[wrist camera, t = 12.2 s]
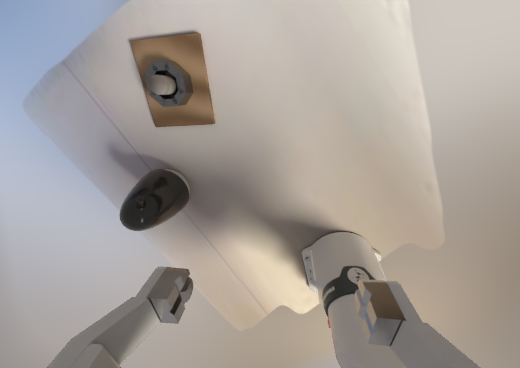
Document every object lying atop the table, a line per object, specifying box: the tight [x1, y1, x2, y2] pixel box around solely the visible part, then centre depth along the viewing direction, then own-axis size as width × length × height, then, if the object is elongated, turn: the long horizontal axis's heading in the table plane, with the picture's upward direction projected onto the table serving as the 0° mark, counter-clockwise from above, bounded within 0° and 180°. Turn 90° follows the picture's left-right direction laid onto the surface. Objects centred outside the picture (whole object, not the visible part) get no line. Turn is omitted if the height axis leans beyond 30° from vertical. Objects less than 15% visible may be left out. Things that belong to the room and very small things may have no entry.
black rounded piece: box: [120, 169, 190, 231], centre depth 38 cm, size 10×10×15 cm
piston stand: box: [130, 33, 215, 127], centre depth 32 cm, size 14×12×6 cm
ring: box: [144, 61, 194, 107], centre depth 33 cm, size 7×7×3 cm
